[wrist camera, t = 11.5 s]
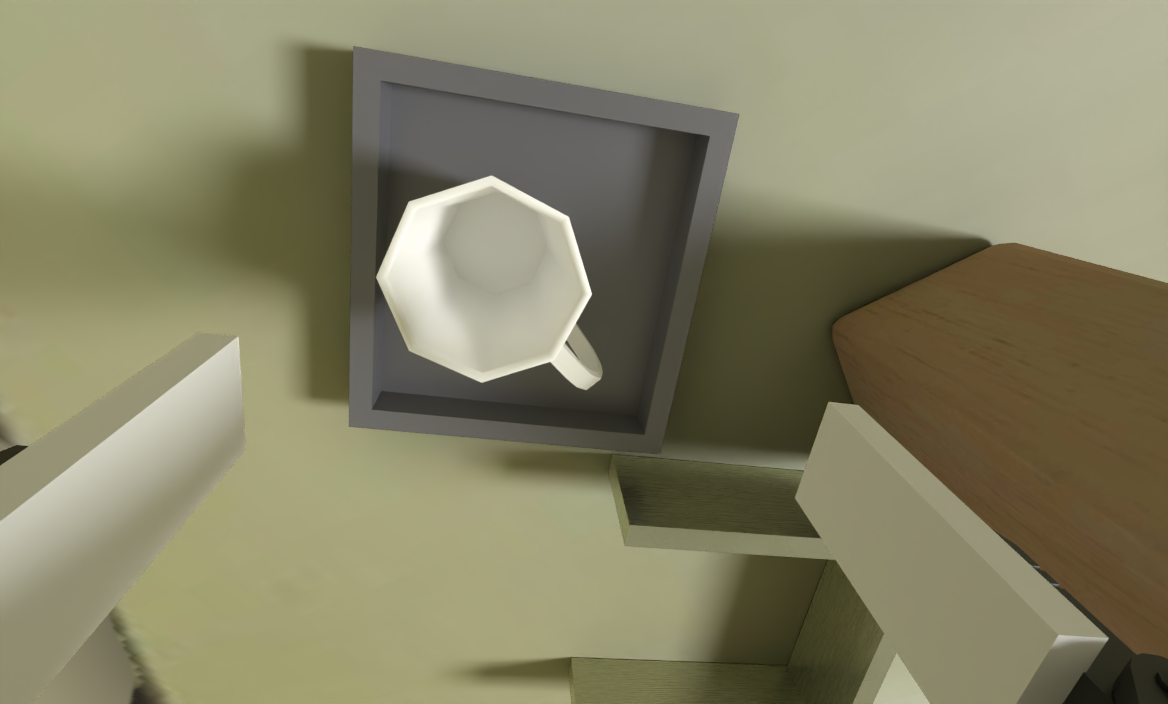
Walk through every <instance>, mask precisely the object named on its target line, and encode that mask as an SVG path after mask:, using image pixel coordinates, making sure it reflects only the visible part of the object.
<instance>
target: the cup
mask: <svg viewBox="0 0 1168 704" xmlns="http://www.w3.org/2000/svg"><path fill="white" fill-rule="evenodd" d="M376 278H377V281H378V283H379V285H380V287H381V289H382V292H383V294H384V296H385V298H386V301H387V303H388V305H389V307H390V310H391V312H392V314H393V316H394V318H395V321H396V323H397V325H398V327H399V330H400V332H401V334H402V336H403V339H404V341H405V343H406V345H407V347H408V350H409V351H410V352H413V353H415V354H417V355H420V356H422V357H424V358H426V359H429V360H431V361H433V362H436V363H438V364H440V365H442V366H445V367H447V368H449V369H452V370H454V371H456V372H458V373H461V374H463V375H465V376H468V377H470V378H472V379H474V380H477V381H479V382H481V383H482V382H486V381H489V380H492V379H496V378H499V377H502V376H505V375H509V374H512V373H515V372H518V371H522V370H525V369H528V368H531V367H535V366H538V365H541V364H544V363H548V362H551V363H552V364H553V365H554V366H555V367H556V368H557V369H558V370H559V371H560V372H561V374H562V375H563V376H564V377H565V378H566V379H568V380H569V381H570V382H571V383H572V384H574V385H575V386H576V387H578V388H581V389H584V390H587V389H589V388H590V387H591V386H592V385H594V384H595V383H596V382H598V381H599V380H600V379H601V377H602V374H603V371H602V366H601V363H600V361H599V359H598V357H597V355H596V353H595V351H594V349H593V348H592V346H591V344H590V343H589V341H588V340H587V338H586V337H585V335H584V334H583V332H582V331H581V329H580V328H579V327H578V325H577V324H576V322H577V320H578V318H579V317H580V315H581V313H582V311H583V309H584V308H585V306H586V304H587V302H588V301H589V299H590V297H591V295H592V293H591V289H590V286H589V283H588V279H587V276H586V272H585V269H584V266H583V262H582V259H581V256H580V252H579V249H578V246H577V242H576V239H575V236H574V232H573V229H572V226H571V222H570V219H569V217H568V216H566V215H564V214H563V213H561V212H559V211H557V210H555V209H553V208H551V207H550V206H548V205H546V204H544V203H542V202H540V201H538V200H537V199H535V198H533V197H531V196H529V195H527V194H525V193H524V192H522V191H520V190H518V189H516V188H514V187H512V186H510V185H509V184H507V183H505V182H503V181H501V180H499V179H497V178H496V177H494V176H488V177H485V178H482V179H479V180H476V181H473V182H469V183H466V184H463V185H460V186H457V187H454V188H450V189H447V190H444V191H441V192H438V193H435V194H431V195H428V196H425V197H422V198H419V199H416V200H412V201H409V202H408V205H407V207H406V209H405V211H404V214H403V216H402V218H401V221H400V223H399V225H398V228H397V230H396V232H395V235H394V237H393V239H392V241H391V244H390V246H389V248H388V251H387V253H386V255H385V258H384V260H383V262H382V265H381V267H380V269H379V272H378V274H377V276H376ZM566 340H567V341H568V343H569V344H570V346H571V348H572V349H573V351H574V352H575V354H576V355H577V357H578V358H577V357H576V356H575V355H574V354H573V352H572V351H571V350H570V349H569V348H568V347H567V345H566V344H565V342H566ZM578 359H579V360H578Z"/></svg>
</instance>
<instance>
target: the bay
mask: <svg viewBox="0 0 1168 704" xmlns="http://www.w3.org/2000/svg"><path fill="white" fill-rule="evenodd" d="M803 473H804V471H797V470H785V469H774V468H763V467H751V466H740V465H728V464H717V463H706V462H694V461H683V460H671V459H660V458H649V457H637V456H626V455H614V454H612V457H611V462H610V467H609V472H608V474H609V478H610V483H611V487H612V492H613V496H614V500H615V505H616V509H617V514H618V518H619V523H620V527H621V532H622V536H623V540H624V545H625V546H631V547H646V548H661V549H677V550H692V551H707V552H722V553H738V554H753V555H768V556H784V557H799V558H814V559H828V560H827V563H826V566H825V568H824V571H823V574H822V576H821V579H820V581H819V584H818V587H817V589H816V592H815V595H814V597H813V600H812V602H811V605H810V608H809V610H808V613H807V616H806V618H805V621H804V623H803V626H802V629H801V631H800V634H799V636H798V639H797V642H796V644H795V647H794V650H793V652H792V655H791V657H790V660H789V663H788V665H787V666H779V665H753V664H726V663H700V662H673V661H647V660H620V659H594V658H571V663H570V668H569V681H570V694H571V704H873V702H874V700H875V697H876V695H877V693H878V691H879V689H880V687H881V685H882V682H883V680H884V678H885V676H886V674H887V672H888V670H889V667H890V665H891V663H892V661H893V659H894V657H895V655H896V651H895V649H894V648H893V646H892V645H891V643H890V642H889V640H888V639H887V637H886V636H885V634H884V633H883V631H882V630H881V628H880V626H879V625H878V623H877V622H876V620H875V619H874V617H873V616H872V614H871V613H870V611H869V610H868V608H867V607H866V605H865V604H864V602H863V601H862V599H861V598H860V596H859V595H858V593H857V592H856V590H855V589H854V587H853V586H852V584H851V582H850V581H849V579H848V578H847V576H846V575H845V573H844V572H843V570H842V569H841V567H840V566H839V564H838V563H837V561H836V560H835V558H834V557H833V555H832V554H831V552H830V551H829V549H828V548H827V546H826V545H825V543H824V542H823V540H822V538H821V537H820V535H819V534H818V532H817V531H816V529H815V528H814V526H813V525H812V523H811V522H810V520H809V519H808V517H807V516H806V514H805V513H804V511H803V510H802V508H801V507H800V505H799V504H798V502H797V501H796V499H795V496H796V493H797V490H798V487H799V484H800V482H801V479H802V476H803Z"/></svg>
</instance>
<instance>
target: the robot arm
mask: <svg viewBox="0 0 1168 704" xmlns="http://www.w3.org/2000/svg"><path fill="white" fill-rule="evenodd" d="M245 451H246V440H245V426H244V411H243V397H242V382H241V368H240V353H239V339H238V336H231V335H222V334H213V333H204V332H198V333H196V334H195V335H193V336H192V337H190V338H189V339H187V340H186V341H184V342H183V343H182V344H180V345H179V346H177V347H176V348H174V349H173V350H171V351H170V352H168V353H167V354H165V355H164V356H162V357H161V358H159V359H158V360H156V361H155V362H153V363H152V364H150V365H149V366H147V367H146V368H144V369H143V370H141V371H140V372H138V373H137V374H136V375H134V376H133V377H131V378H130V379H128V380H127V381H125V382H124V383H122V384H121V385H119V386H118V387H116V388H115V389H113V390H112V391H110V392H109V393H107V394H106V395H104V396H103V397H101V398H100V399H98V400H97V401H95V402H94V403H92V404H91V405H89V406H88V407H87V408H85V409H84V410H82V411H81V412H79V413H78V414H76V415H75V416H73V417H72V418H70V419H69V420H67V421H66V422H64V423H63V424H61V425H60V426H58V427H57V428H55V429H54V430H52V431H51V432H49V433H48V434H46V435H45V436H43V437H42V438H40V439H39V440H38V441H36V442H35V443H33V444H32V445H30V446H20V445H16V446H13V447H11V448H8V449H6V450H3V451H1V452H0V704H33V703H34V702H35V701H36V700H37V698H38V697H39V696H40V695H41V694H42V692H43V691H44V690H45V689H46V688H47V686H48V685H49V684H50V683H51V682H52V681H53V679H54V678H55V677H56V676H57V674H58V673H59V672H60V671H61V670H62V669H63V667H64V666H65V665H66V664H67V663H68V661H69V660H70V659H71V658H72V657H73V656H74V654H75V653H76V652H77V651H78V650H79V648H80V647H81V646H82V645H83V644H84V642H85V641H86V640H87V639H88V638H89V636H90V635H91V634H92V633H93V632H94V631H95V629H96V628H97V627H98V626H99V625H100V623H101V622H102V621H103V620H104V619H105V617H106V616H107V615H108V614H109V613H110V611H111V610H112V609H113V608H114V607H115V605H116V604H117V603H118V602H119V601H120V600H121V598H122V597H123V596H124V595H125V594H126V592H127V591H128V590H129V589H130V588H131V586H132V585H133V584H134V583H135V582H136V580H137V579H138V578H139V577H140V576H141V575H142V573H143V572H144V571H145V570H146V569H147V567H148V566H149V565H150V564H151V563H152V561H153V560H154V559H155V558H156V557H157V555H158V554H159V553H160V552H161V551H162V550H163V548H164V547H165V546H166V545H167V544H168V542H169V541H170V540H171V539H172V538H173V536H174V535H175V534H176V533H177V532H178V530H179V529H180V528H181V527H182V526H183V524H184V523H185V522H186V521H187V520H188V519H189V517H190V516H191V515H192V514H193V513H194V511H195V510H196V509H197V508H198V507H199V505H200V504H201V503H202V502H203V501H204V499H205V498H206V497H207V496H208V495H209V494H210V492H211V491H212V490H213V489H214V488H215V486H216V485H217V484H218V483H219V482H220V480H221V479H222V478H223V477H224V476H225V474H226V473H227V472H228V471H229V470H230V469H231V467H232V466H233V465H234V464H235V463H236V461H237V460H238V459H239V458H240V457H241V455H242V454H243V453H244V452H245ZM795 499H796V501H797V502H798V504H799V505H800V507H801V508H802V510H803V511H804V513H805V514H806V516H807V517H808V519H809V520H810V522H811V523H812V525H813V526H814V528H815V529H816V531H817V532H818V534H819V535H820V537H821V538H822V540H823V542H824V543H825V545H826V546H827V548H828V549H829V551H830V552H831V554H832V555H833V557H834V558H835V560H836V561H837V563H838V564H839V566H840V567H841V569H842V570H843V572H844V573H845V575H846V576H847V578H848V579H849V581H850V582H851V584H852V586H853V587H854V589H855V590H856V592H857V593H858V595H859V596H860V598H861V599H862V601H863V602H864V604H865V605H866V607H867V608H868V610H869V611H870V613H871V614H872V616H873V617H874V619H875V620H876V622H877V623H878V625H879V626H880V628H881V630H882V631H883V633H884V634H885V636H886V637H887V639H888V640H889V642H890V643H891V645H892V646H893V648H894V649H895V651H896V652H897V654H898V655H899V657H900V658H901V660H902V661H903V663H904V664H905V666H906V667H907V669H908V670H909V672H910V674H911V675H912V677H913V678H914V680H915V681H916V683H917V684H918V686H919V687H920V689H921V690H922V692H923V693H924V695H925V696H926V698H927V699H928V701H929V702H930V704H1168V659H1167V658H1164V657H1162V656H1159V655H1152V654H1145V653H1141V654H1138V655H1136V654H1135V653H1134V652H1133V651H1132V650H1131V649H1130V648H1129V647H1127V646H1126V645H1125V644H1124V643H1123V642H1122V641H1121V640H1120V639H1119V638H1118V637H1117V636H1115V635H1114V634H1113V633H1112V632H1111V631H1110V630H1109V629H1108V628H1107V627H1106V626H1105V625H1103V624H1102V623H1101V622H1100V621H1099V620H1098V619H1097V618H1096V617H1095V616H1094V615H1093V614H1091V613H1090V612H1089V611H1088V610H1087V609H1086V608H1085V607H1084V606H1083V605H1082V604H1081V603H1079V602H1078V601H1077V600H1076V599H1075V598H1074V597H1073V596H1072V595H1071V594H1070V593H1068V592H1067V591H1066V590H1065V589H1061V588H1060V587H1059V583H1058V582H1056V581H1055V580H1054V579H1053V578H1052V577H1051V576H1050V575H1049V574H1048V573H1047V572H1046V571H1044V570H1040V568H1039V567H1040V566H1039V565H1038V564H1037V563H1036V562H1035V561H1034V560H1032V559H1031V558H1030V557H1029V556H1028V555H1027V554H1026V553H1025V552H1024V551H1023V550H1022V549H1020V548H1019V547H1018V546H1017V545H1016V544H1014V543H1013V542H1011V541H1010V540H1008V539H1007V538H1005V537H1004V536H1002V535H1000V534H999V533H997V532H996V531H994V530H993V529H991V528H990V527H989V526H988V525H987V524H986V523H985V522H984V521H983V520H981V519H980V518H979V517H978V516H977V515H976V514H975V513H974V512H973V511H972V510H971V509H970V508H969V507H967V506H966V505H965V504H964V503H963V502H962V501H961V500H960V499H959V498H958V497H957V496H956V495H955V494H953V493H952V492H951V491H950V490H949V489H948V488H947V487H946V486H945V485H944V484H943V483H942V482H941V481H940V480H938V479H937V478H936V477H935V476H934V475H933V474H932V473H931V472H930V471H929V470H928V469H927V468H926V467H924V466H923V465H922V464H921V463H920V462H919V461H918V460H917V459H916V458H915V457H914V456H913V455H912V454H910V453H909V452H908V451H907V450H906V449H905V448H904V447H903V446H902V445H901V444H900V443H899V442H898V441H897V440H895V439H894V438H893V437H892V436H891V435H890V434H889V433H888V432H887V431H886V430H885V429H884V428H883V427H881V426H880V425H879V424H878V423H877V422H876V421H875V420H874V419H873V418H872V417H871V416H870V415H869V414H867V413H866V412H865V411H864V410H863V409H862V408H861V407H860V406H859V405H853V404H844V403H835V402H828V405H827V407H826V410H825V413H824V416H823V419H822V422H821V425H820V427H819V430H818V433H817V436H816V439H815V442H814V445H813V447H812V450H811V453H810V456H809V459H808V462H807V464H806V467H805V470H804V473H803V476H802V479H801V482H800V484H799V487H798V490H797V493H796V496H795Z"/></svg>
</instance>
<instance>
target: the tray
mask: <svg viewBox="0 0 1168 704" xmlns="http://www.w3.org/2000/svg"><path fill="white" fill-rule="evenodd" d="M738 118H739V114H737V113H731V112H725V111H719V110H714V109H708V108H702V107H697V106H691V105H685V104H680V103H674V102H668V101H663V100H657V99H651V98H646V97H640V96H634V95H628V94H623V93H617V92H611V91H606V90H600V89H594V88H589V87H583V86H577V85H572V84H566V83H560V82H555V81H549V80H543V79H537V78H532V77H526V76H520V75H515V74H509V73H503V72H498V71H492V70H486V69H481V68H475V67H469V66H464V65H458V64H452V63H446V62H441V61H435V60H429V59H424V58H418V57H412V56H407V55H401V54H395V53H390V52H384V51H378V50H373V49H367V48H361V47H355V46H353V115H352V200H351V286H350V371H349V427H358V428H369V429H380V430H392V431H403V432H414V433H425V434H437V435H448V436H459V437H471V438H482V439H493V440H504V441H516V442H527V443H538V444H549V445H561V446H572V447H583V448H595V449H606V450H617V451H628V452H640V453H651V454H660V453H661V448H662V444H663V440H664V435H665V431H666V427H667V422H668V418H669V414H670V410H671V405H672V401H673V397H674V392H675V388H676V384H677V380H678V375H679V371H680V367H681V362H682V358H683V354H684V350H685V345H686V341H687V337H688V332H689V328H690V324H691V320H692V315H693V311H694V307H695V302H696V298H697V294H698V290H699V285H700V281H701V277H702V272H703V268H704V264H705V260H706V255H707V251H708V247H709V242H710V238H711V234H712V230H713V225H714V221H715V217H716V212H717V208H718V204H719V200H720V195H721V191H722V187H723V182H724V178H725V174H726V170H727V165H728V161H729V157H730V152H731V148H732V144H733V140H734V135H735V131H736V127H737V122H738ZM488 176H494V177H496V178H497V179H499V180H501V181H503V182H505V183H507V184H509V185H510V186H512V187H514V188H516V189H518V190H520V191H522V192H524V193H525V194H527V195H529V196H531V197H533V198H535V199H537V200H538V201H540V202H542V203H544V204H546V205H548V206H550V207H551V208H553V209H555V210H557V211H559V212H561V213H563V214H564V215H566V216H568V217H569V219H570V222H571V226H572V229H573V232H574V236H575V239H576V242H577V246H578V249H579V252H580V256H581V259H582V262H583V266H584V269H585V272H586V276H587V279H588V283H589V286H590V289H591V293H592V295H591V297H590V299H589V301H588V302H587V304H586V306H585V308H584V309H583V311H582V313H581V315H580V317H579V318H578V320H577V322H576V324H577V325H578V327H579V328H580V329H581V331H582V332H583V334H584V335H585V337H586V338H587V340H588V341H589V343H590V344H591V346H592V348H593V349H594V351H595V353H596V355H597V357H598V359H599V361H600V363H601V366H602V371H603V374H602V377H601V379H600V380H599V381H598V382H596V383H595V384H594V385H592V386H591V387H590V388H589V389H587V390H584V389H581V388H578V387H576V386H575V385H574V384H572V383H571V382H570V381H569V380H568V379H566V378H565V377H564V376H563V375H562V374H561V372H560V371H559V370H558V369H557V368H556V367H555V366H554V365H553V364H552V363H551V362H548V363H544V364H541V365H538V366H535V367H531V368H528V369H525V370H522V371H518V372H515V373H512V374H509V375H505V376H502V377H499V378H496V379H492V380H489V381H486V382H482V383H481V382H479V381H477V380H474V379H472V378H470V377H468V376H465V375H463V374H461V373H458V372H456V371H454V370H452V369H449V368H447V367H445V366H442V365H440V364H438V363H436V362H433V361H431V360H429V359H426V358H424V357H422V356H420V355H417V354H415V353H413V352H410V351H409V350H408V347H407V345H406V343H405V341H404V339H403V336H402V334H401V332H400V330H399V327H398V325H397V323H396V321H395V318H394V316H393V314H392V312H391V310H390V307H389V305H388V303H387V301H386V298H385V296H384V294H383V292H382V289H381V287H380V285H379V283H378V281H377V278H376V276H377V274H378V272H379V269H380V267H381V265H382V262H383V260H384V258H385V255H386V253H387V251H388V248H389V246H390V244H391V241H392V239H393V237H394V235H395V232H396V230H397V228H398V225H399V223H400V221H401V218H402V216H403V214H404V211H405V209H406V207H407V205H408V202H409V201H412V200H416V199H419V198H422V197H425V196H428V195H431V194H435V193H438V192H441V191H444V190H447V189H450V188H454V187H457V186H460V185H463V184H466V183H469V182H473V181H476V180H479V179H482V178H485V177H488ZM565 344H566V345H567V347H568V348H569V349H570V350H571V351H572V352H573V354H574V355H575V356H576V357H577V355H576V354H575V352H574V351H573V349H572V348H571V346H570V344H569V343H568V341H567V340H566V342H565ZM577 358H578V357H577ZM578 360H579V359H578Z"/></svg>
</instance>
